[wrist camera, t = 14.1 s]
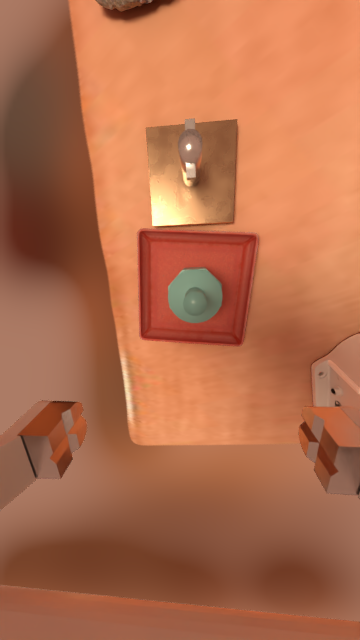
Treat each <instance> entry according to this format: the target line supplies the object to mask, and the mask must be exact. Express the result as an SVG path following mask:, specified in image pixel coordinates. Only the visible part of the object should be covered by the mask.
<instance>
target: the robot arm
mask: <svg viewBox="0 0 360 640" xmlns="http://www.w3.org/2000/svg"><path fill="white" fill-rule="evenodd" d="M311 372H312V393H313V406H305V407H304V408H303V410H302V415H301V416H302V417H303V419H304V420H305V421H304V422H303V423H302V424H301V425H300V427H299V440H300V444H301V447H302V449H303V451H304V453H305V455H306V457H308V458H309V459H310V460H311V461H313V462H314V463H315V466H314V471H315V473H316V475H317V477H318V479H319V480H320V482H321V484H322V486H323V488H324V489H325V491H326V493H331V494H343V495H356V496H358V498H359V499H360V333H358V334H356V335H353V336H351V337H349V338H347V339H346V340H344V341H343V342H341V343H340V344H339V345H338V346H336V347H335V348H334V349H333V350H332V351H331V352H330V353H329V354H328V355H327V356H325V357H323V358H320V359H319V360H317V361H315V362H314V363H313V364H312V366H311ZM320 372H321V373H320ZM319 373H320V374H319ZM82 412H83V407H82V403H80V402H72V401H45V400H42V401H39V402H37V403H36V404H35V405H34V406H32V407H31V409H29V410H28V411H27V412H26V413H25V414H24V415H23V416H22V417H21V418H19V419H18V420H17V421H16V422H15V423H14V424H13V425H12V426H11V427H10V428H9V429H8V430H6V431H5V432H4V433H3V434H2V435H0V510H2V509H3V508H4V507H5V506H6V505H7V504H9V503H10V502H11V501H12V500H13V499H14V498H15V497H17V496H18V495H19V494H20V493H21V492H23V491H24V490H25V489H26V488H27V487H29V486H30V485H31V484H32V483H33V482H34V481H36V479H61V478H62V476H63V474H64V473H65V471H66V470H67V468H68V466H69V465H70V463H71V461H72V460H73V457H72V453H73V452H74V451H75V450H77V449H79V448H80V446H81V445H82V443H83V441H84V439H85V435H86V432H87V424H86V420H85V419H84V418H83V417H82V416H81V414H82ZM0 640H360V622H359V621H349V620H339V619H329V618H319V617H310V616H300V615H290V614H280V613H270V612H259V611H250V610H241V609H231V608H221V607H211V606H202V605H191V604H181V603H172V602H161V601H152V600H143V599H132V598H123V597H113V596H103V595H93V594H82V593H73V592H64V591H63V592H62V591H54V590H43V589H34V588H23V587H14V586H4V585H0Z"/></svg>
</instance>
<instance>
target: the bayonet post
mask: <svg viewBox="0 0 360 640" xmlns="http://www.w3.org/2000/svg"><path fill="white" fill-rule="evenodd" d="M146 138H147V152H148V165H149V179H150V193H151V206H152V220H153V226H154V227H169V226H188V225H207V224H226V223H232V222H233V216H234V190H235V164H236V138H237V119H235V120H224V121H213V122H203V123H195V119H185V124H181V125H170V126H159V127H148V128H146Z"/></svg>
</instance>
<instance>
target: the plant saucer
mask: <svg viewBox="0 0 360 640" xmlns="http://www.w3.org/2000/svg"><path fill="white" fill-rule="evenodd" d="M258 243H259V237H258V234H257V233H253V232H226V231H195V230H171V229H146V228H143V229H140V230H139V231H138V232H137V254H138V294H139V295H138V298H139V336H140V338H141V339H142V340H150V341H164V342H178V343H193V344H208V345H224V346H241V345H242V344H243V342H244V336H245V330H246V322H247V316H248V309H249V302H250V295H251V289H252V282H253V275H254V269H255V262H256V256H257V250H258ZM190 267H205V268H206V269H207V270H208V271H209V272H210V273H211V274H212V275H213V276H215V277H216V278H217V279H218V280H219V281H220V283H221V284H222V306H221V307H220V308H219V310H218V312H217V313H216V314H215V315H214V316H213V317H212V318H210V319H209V320H207V321H204V322H201V323H189V322H186V321H183V320H181V319H180V318H178V317H177V316H176V315H175V314H174V313H173V311H172V310H171V309H170V307H169V302H168V286H169V285H170V283H171V282H172V281H173V280H174V279H175V278H176V277H177V275H178V274H179V273H180V272H181V271H182V270H183V268H190Z"/></svg>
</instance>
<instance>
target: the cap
mask: <svg viewBox="0 0 360 640" xmlns="http://www.w3.org/2000/svg"><path fill="white" fill-rule="evenodd" d="M168 302H169V307H170V309H171V310H172V311H173V313H174V314H175V315H176V316H177V317H178V318H180V319H181V320H183V321H186V322H189V323H201V322H204V321H207V320H209V319H210V318H212V317H213V316H214V315H215V314H216V313H217V312H218V310H219V308H220V307H221V306H222V284H221V283H220V281H219V280H218V279H217V278H216V277H215V276H213V275H212V274H211V273H210V272H209V271H208V270H207V269H206V268H205V267H190V268H183V270H182V271H181V272H180V273H179V274H178V275H177V277H176V278H175V279H174V280H173V281H172V282H171V283H170V285H169V286H168Z"/></svg>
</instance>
